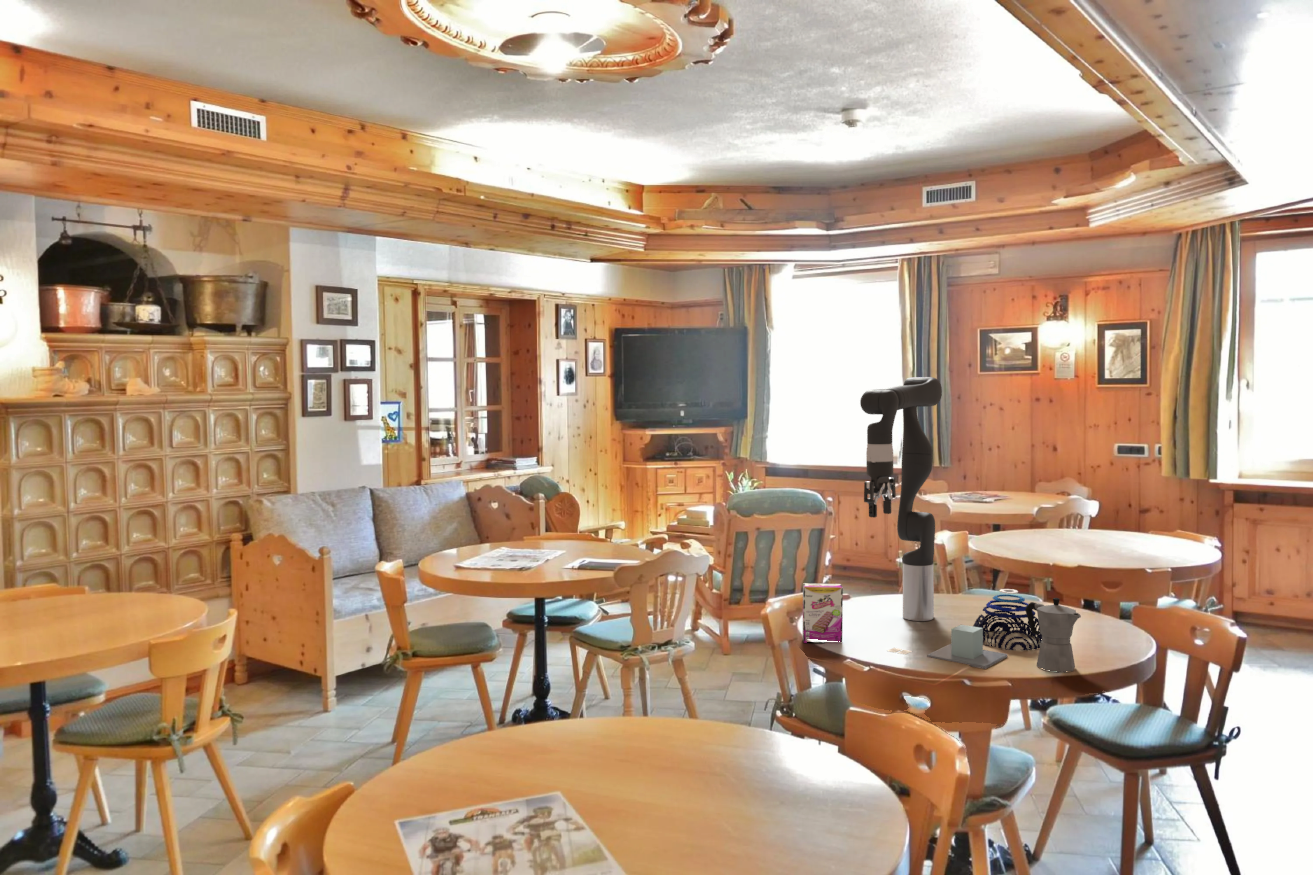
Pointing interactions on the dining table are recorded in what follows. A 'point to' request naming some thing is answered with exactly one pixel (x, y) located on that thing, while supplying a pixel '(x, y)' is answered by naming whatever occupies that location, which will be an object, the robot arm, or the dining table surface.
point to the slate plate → (980, 662)
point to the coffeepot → (1054, 635)
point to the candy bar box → (822, 611)
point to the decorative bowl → (1003, 625)
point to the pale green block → (967, 641)
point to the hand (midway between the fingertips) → (880, 515)
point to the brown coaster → (900, 651)
